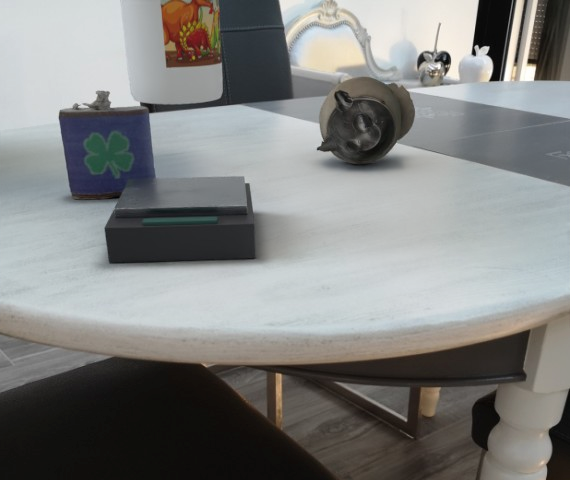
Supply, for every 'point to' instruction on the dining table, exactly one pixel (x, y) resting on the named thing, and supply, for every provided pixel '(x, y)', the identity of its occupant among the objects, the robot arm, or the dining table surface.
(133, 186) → the scale platform
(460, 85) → the dining table surface
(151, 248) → the scale
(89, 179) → the flask
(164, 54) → the milk bottle
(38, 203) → the dining table surface
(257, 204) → the dining table surface
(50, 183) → the dining table surface
